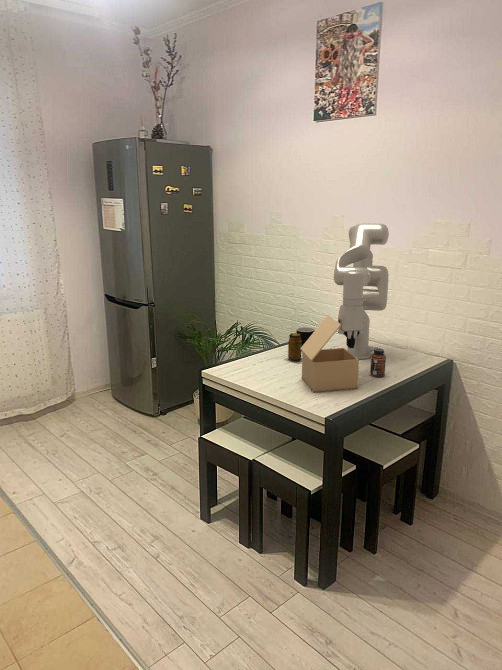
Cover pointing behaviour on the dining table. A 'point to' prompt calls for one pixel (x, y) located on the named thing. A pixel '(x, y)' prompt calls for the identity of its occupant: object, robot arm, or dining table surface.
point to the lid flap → (320, 337)
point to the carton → (330, 370)
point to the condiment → (294, 348)
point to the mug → (305, 333)
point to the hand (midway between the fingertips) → (350, 347)
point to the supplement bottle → (378, 363)
